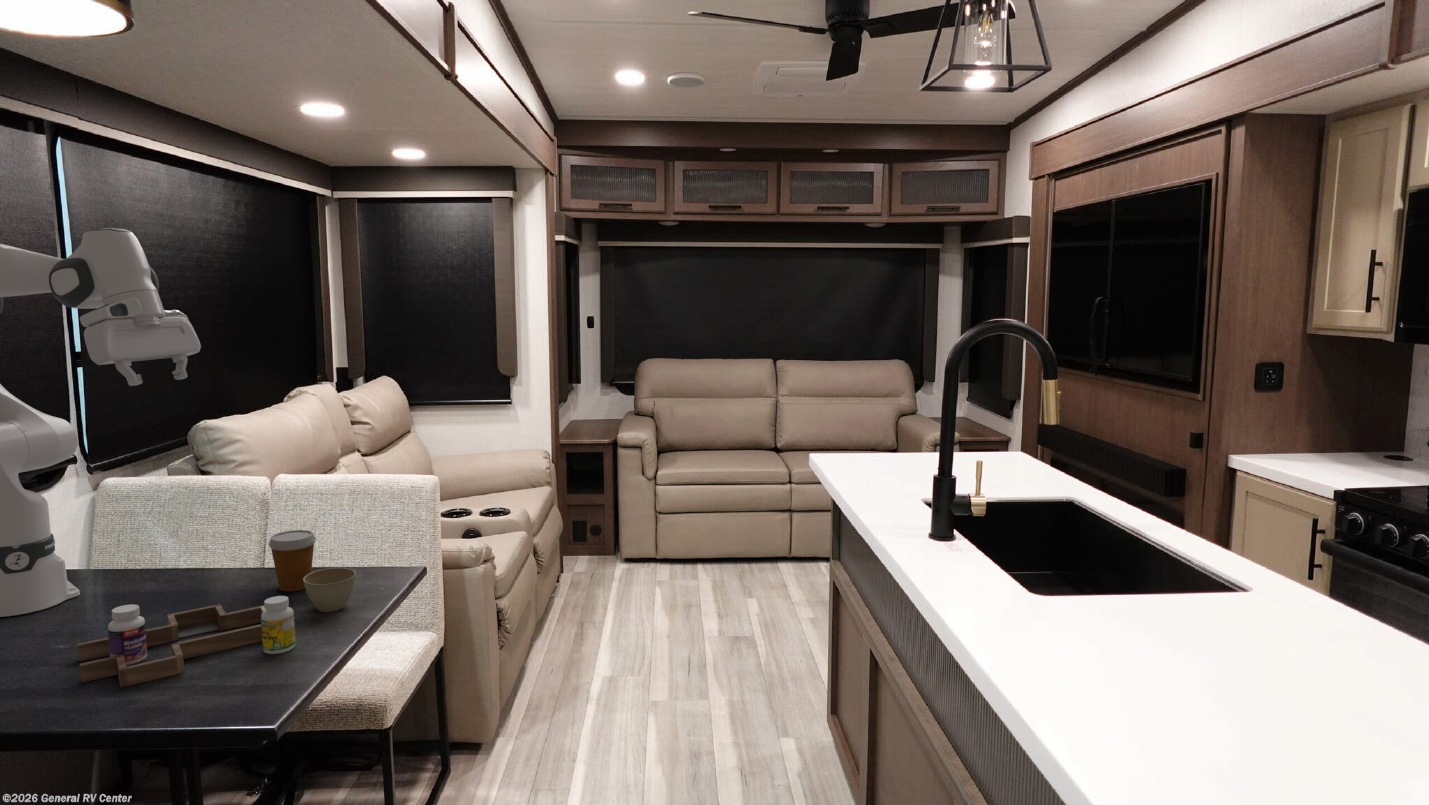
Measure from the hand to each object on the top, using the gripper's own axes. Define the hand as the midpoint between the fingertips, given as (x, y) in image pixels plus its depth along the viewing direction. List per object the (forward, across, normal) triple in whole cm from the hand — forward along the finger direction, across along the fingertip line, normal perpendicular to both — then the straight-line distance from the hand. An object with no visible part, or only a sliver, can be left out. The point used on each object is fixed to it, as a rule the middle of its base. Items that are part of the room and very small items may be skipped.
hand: (159, 381), depth 152 cm
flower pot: (+54, -16, +6) cm, 56 cm away
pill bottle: (+48, +15, -10) cm, 51 cm away
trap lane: (+50, +8, -5) cm, 50 cm away
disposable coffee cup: (+49, -24, -9) cm, 55 cm away
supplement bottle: (+55, +4, +11) cm, 56 cm away
